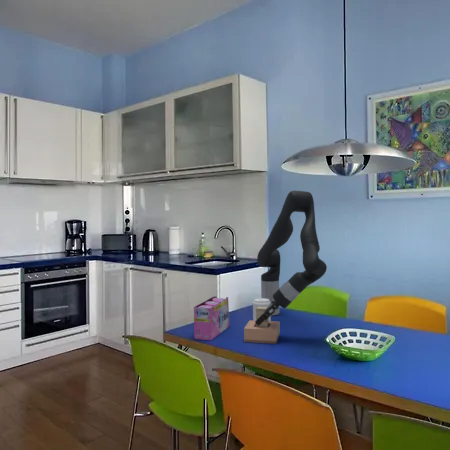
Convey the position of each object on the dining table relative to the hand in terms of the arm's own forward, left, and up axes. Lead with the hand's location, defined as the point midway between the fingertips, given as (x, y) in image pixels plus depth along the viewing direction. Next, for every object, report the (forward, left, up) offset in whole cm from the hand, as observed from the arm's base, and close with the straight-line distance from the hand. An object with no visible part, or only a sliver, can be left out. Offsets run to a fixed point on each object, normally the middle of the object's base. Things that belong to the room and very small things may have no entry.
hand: (257, 322), depth 178 cm
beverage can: (-19, -1, -7) cm, 20 cm away
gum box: (-5, -21, -7) cm, 23 cm away
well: (0, +2, -7) cm, 7 cm away
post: (0, +2, -4) cm, 5 cm away
